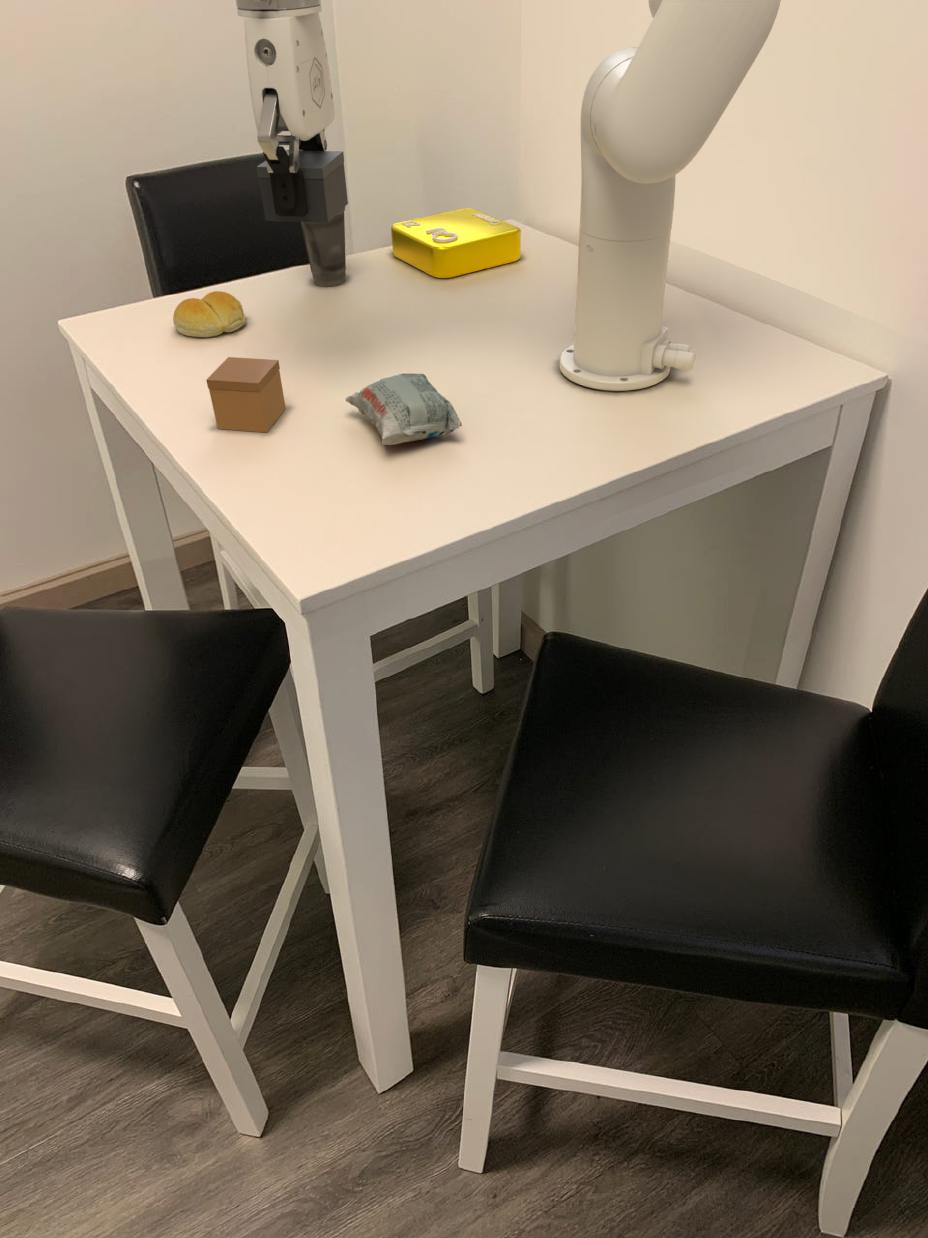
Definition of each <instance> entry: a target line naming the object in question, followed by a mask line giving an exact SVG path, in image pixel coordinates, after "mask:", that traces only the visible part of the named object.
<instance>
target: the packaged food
mask: <svg viewBox="0 0 928 1238" xmlns="http://www.w3.org/2000/svg"><path fill="white" fill-rule="evenodd" d="M345 402H347V403H349V404H350V405H351V406H353V407H356V409H358V412H360V413H361V415H363V416H364V417H365V418H366V419H367V420H369V421H370V422H371V423H372V425H373V427H375V428H376V430H377V432H378V434H379V435H380V438H381V444H382V445H384V446H386V445H388V446H393V445H400V444H405V443H411V442H415V441H421V440H426V439H432V438H436V437H441V436H446V435H448V434H451V433H452V432H454V431H455V430H457V429H458V430H459V429H460V427H462V426H463V423H462V421H461V420H460V417H459V415H458V414H457V412H456V410H455V408H454V406H453V405H452V402H451V401H449V399H447V398H446V397H444V396H443V395H442V394H441V393H439V392H438V390H437V389H436V388H435V387H434V385H433V384H432V383H431V382H430V381H429V379H428V378H427V376H426V375H425V374H424V373H411V372H409V373H407V372H406V373H405V372H404V373H399V374H395V375H391V376H388V377H384V378H381V379H380V380H378V381H375V382H373V383H370V384H368V385H366V386H365V387H363V388H362V389H360V390H359V392H358V391H357V392H354V393H353V394H352V395H347V396H346V397H345Z"/></svg>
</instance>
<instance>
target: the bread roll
mask: <svg viewBox="0 0 928 1238" xmlns="http://www.w3.org/2000/svg"><path fill="white" fill-rule="evenodd" d="M242 305H243V304H242V303H241V301H240V300H238V299H237V298H236V296H234V295H233V294H231V293H229V292H226V291H221V290H220V291H218V290H217V291H210V292H209V293H206V294H205V295H204V296H203V297H202V298H197V297H191V298H190V297H189V298H186V299H183V300H182V301H181V302H179V303H178V305H176V307H175V310H174V311H173V317H172V322H173V325H174V328H175V329H176V331H178V333H180V334H182V335H184V336H187V337H188V336H189V337H193V338H194V337H195V338H213V337H218V336H220V335H221V334H222V333H233V332H235V331H238V330H240V329H241V328H242V327H243V326H244V325H245V324H246V322H247V319H248V318H247V316H246V315H245V313H244V308H243V306H242Z"/></svg>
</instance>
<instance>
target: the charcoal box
mask: <svg viewBox="0 0 928 1238" xmlns="http://www.w3.org/2000/svg"><path fill="white" fill-rule="evenodd" d="M285 151H286V152H287V154H288V156H289V149H288V150H287V149H285ZM344 153H345V152H344V151H342V150H341V151H340V150H327V151H300V150H299V163H298V171H301V172H303V179H304V187H305V195H306V203H307V211H308V212H307V214H306V215H305V216H304V217H295V216H278V215H276V213H275V208H274V202H273V195H272V188H271V181H270V174H269V173H268V171H267V161H266V160H264V161H263V162H261V163H260V164H258V165H257V166H256V174H257V178H258V181H259V188H260V195H261V201H262V207H263V208H262V209H263V213H264V220H265V221H266V222H293V223H294V222H295V223H301V222H322V223H328V222H329V221H330V220H331V219H332V218H333V217H335V216H336V215H337V214H338V213H339V212H340V211H341V210H342V209H343V208H344V207H345V208H346V206H347V205H348V204H349V199H348V190H347V189H348V188H347V180H346V179H347V178H346V172H345V171H346V170H345V156H344V155H345V154H344Z"/></svg>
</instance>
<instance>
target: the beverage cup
mask: <svg viewBox="0 0 928 1238" xmlns="http://www.w3.org/2000/svg"><path fill="white" fill-rule="evenodd" d="M345 211H346V206H345V207H344V208H343V209H342V210H341V211H340V212H339V213H338V214H337V215H336V216H335V217H333V218H332V219H331V220H330V221H329V222H328V223H322V222H300V226H301V231H302V235H303V240H304V245H305V250H306V253H307V259H308V263H309V267H310V272H311V274H312V278H313V284H314V285H316V286H317V287H324V288H329V287H330V288H331V287H337V286H340V285H343V284H344V283H346V281H347V280H346V270H347V264H346V263H347V261H346V259H347V258H346V231H345V230H346V227H345V225H346V224H345Z"/></svg>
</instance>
